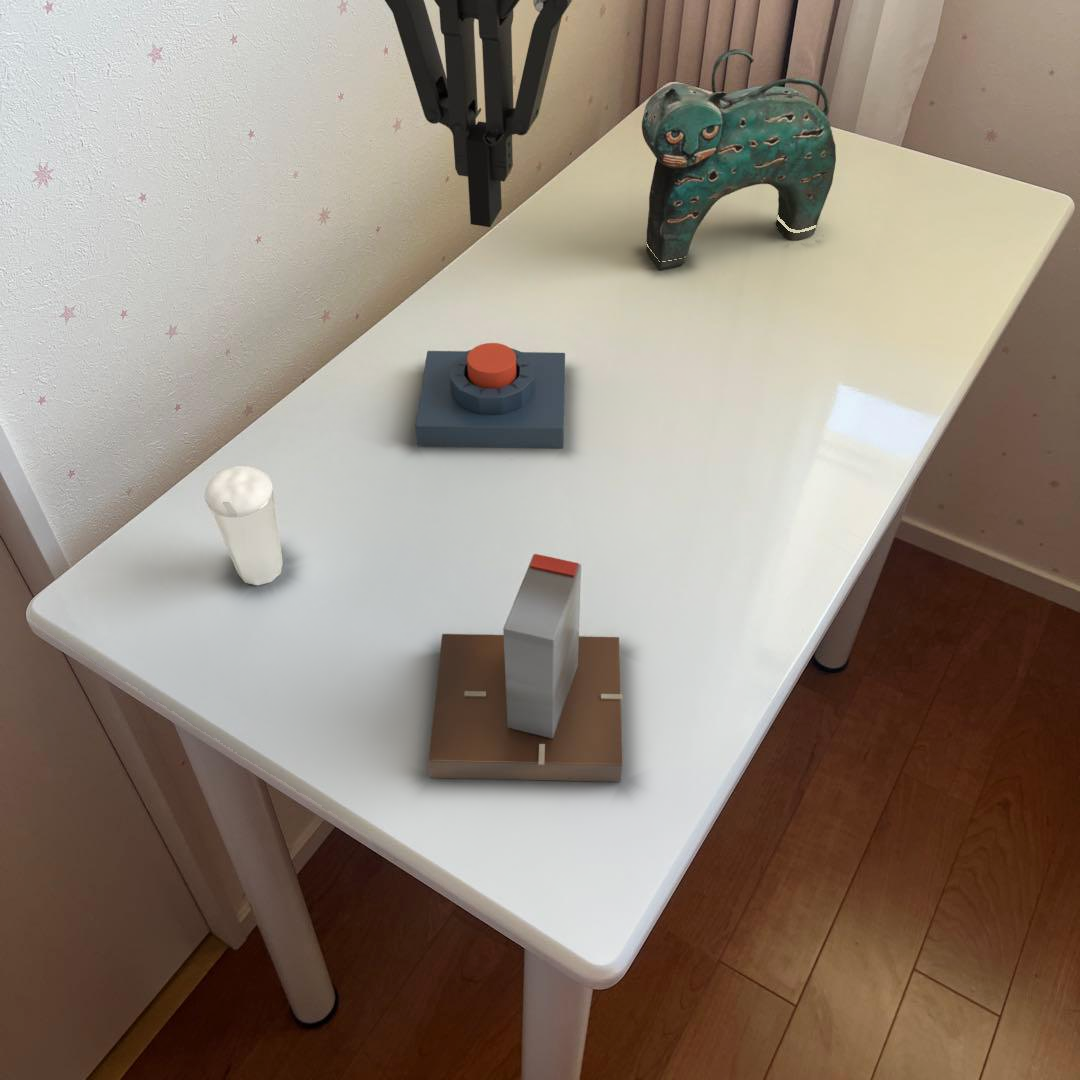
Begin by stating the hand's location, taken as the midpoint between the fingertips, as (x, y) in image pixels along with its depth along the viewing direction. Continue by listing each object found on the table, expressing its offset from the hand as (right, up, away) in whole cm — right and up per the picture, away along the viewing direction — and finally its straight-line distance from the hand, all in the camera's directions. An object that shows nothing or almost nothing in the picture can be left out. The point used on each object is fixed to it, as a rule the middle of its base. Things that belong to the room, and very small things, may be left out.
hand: (486, 216), depth 81 cm
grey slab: (+4, -34, -10) cm, 35 cm away
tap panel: (+3, -35, -8) cm, 36 cm away
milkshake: (-17, -26, +1) cm, 31 cm away
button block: (0, -12, +13) cm, 18 cm away
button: (0, -10, +11) cm, 15 cm away
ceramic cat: (+23, +6, +31) cm, 39 cm away
